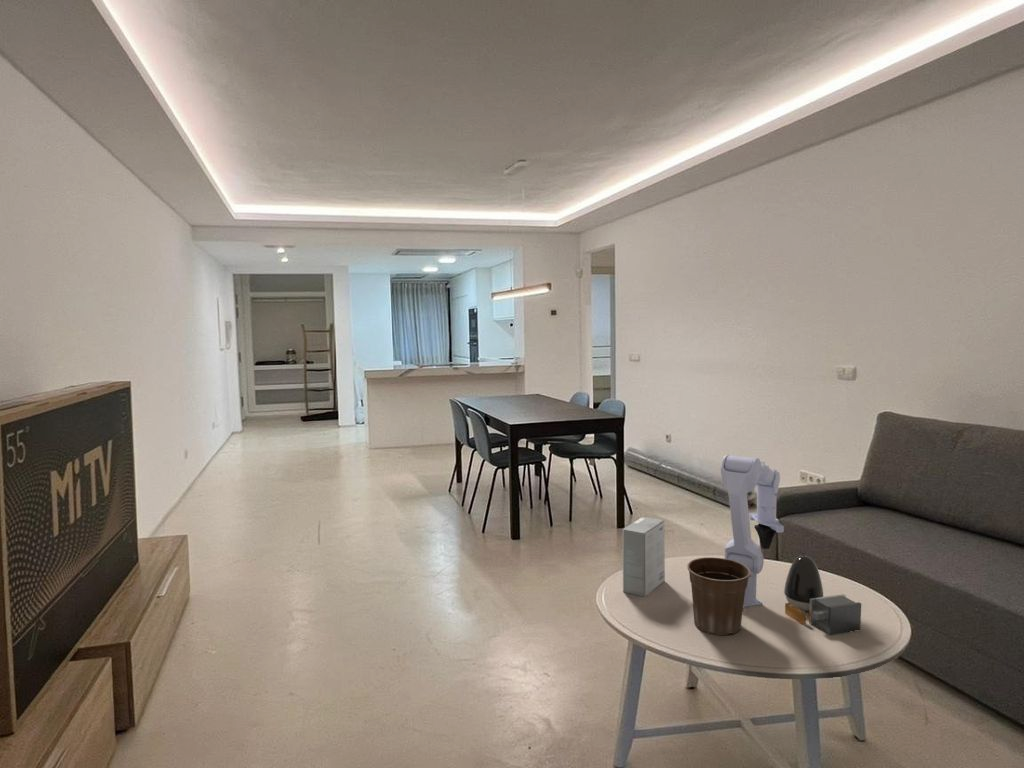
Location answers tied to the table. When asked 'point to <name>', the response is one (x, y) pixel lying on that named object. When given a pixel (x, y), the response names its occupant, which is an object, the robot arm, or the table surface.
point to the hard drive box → (643, 556)
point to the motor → (829, 614)
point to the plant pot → (718, 594)
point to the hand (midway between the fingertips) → (765, 548)
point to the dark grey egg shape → (803, 583)
